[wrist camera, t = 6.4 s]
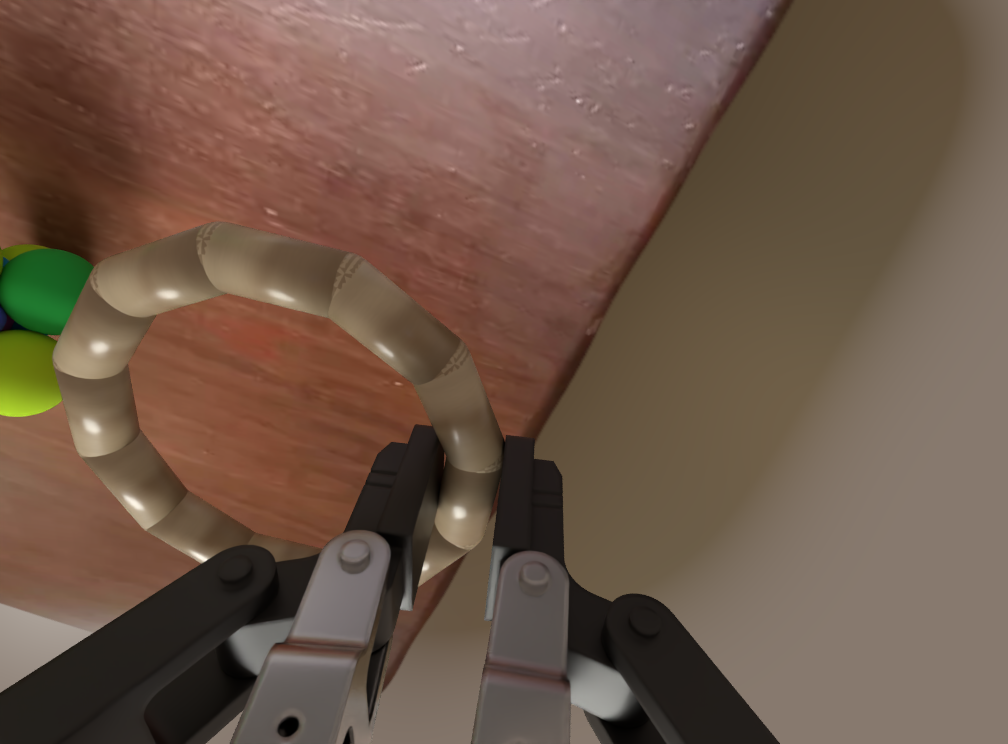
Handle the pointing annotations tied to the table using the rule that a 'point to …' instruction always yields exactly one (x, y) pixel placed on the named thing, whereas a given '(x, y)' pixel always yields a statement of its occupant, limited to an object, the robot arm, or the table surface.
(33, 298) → the molecule model
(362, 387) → the table surface
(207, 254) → the ring
